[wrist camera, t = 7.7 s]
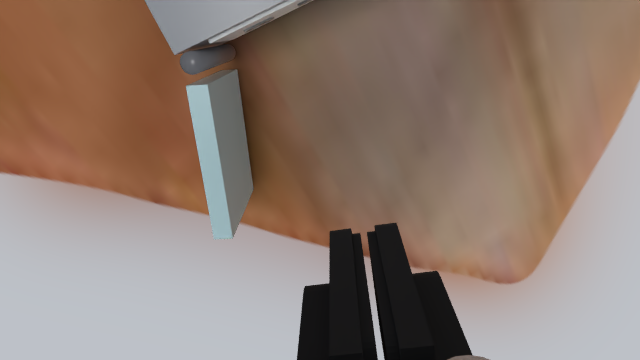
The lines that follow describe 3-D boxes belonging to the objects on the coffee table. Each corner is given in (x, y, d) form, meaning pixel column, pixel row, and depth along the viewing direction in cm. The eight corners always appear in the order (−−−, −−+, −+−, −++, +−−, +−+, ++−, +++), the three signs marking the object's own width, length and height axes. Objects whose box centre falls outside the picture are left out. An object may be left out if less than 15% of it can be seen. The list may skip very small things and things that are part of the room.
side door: (253, 189, 28) (232, 238, 21) (229, 190, 28) (200, 240, 21) (237, 69, 25) (207, 84, 18) (209, 71, 25) (170, 86, 18)
